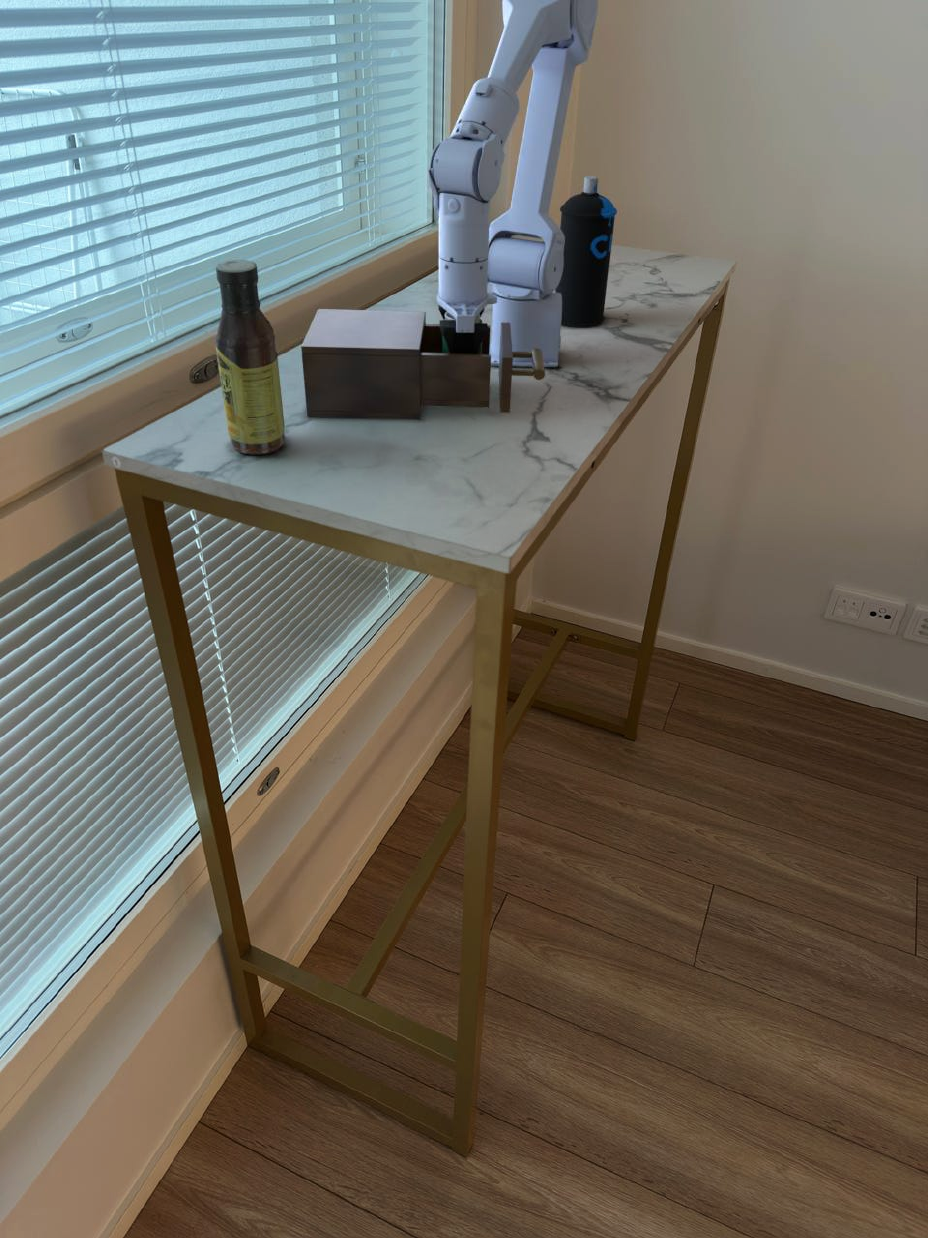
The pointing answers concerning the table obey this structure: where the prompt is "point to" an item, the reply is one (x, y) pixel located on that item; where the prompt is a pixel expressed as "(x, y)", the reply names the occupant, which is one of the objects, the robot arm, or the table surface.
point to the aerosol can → (585, 256)
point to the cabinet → (363, 364)
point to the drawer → (470, 371)
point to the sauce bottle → (248, 363)
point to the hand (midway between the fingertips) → (461, 371)
